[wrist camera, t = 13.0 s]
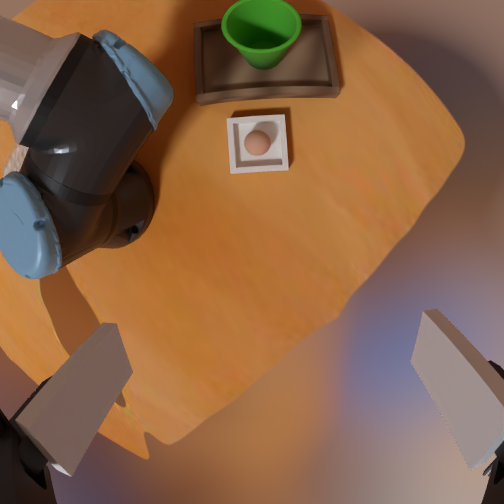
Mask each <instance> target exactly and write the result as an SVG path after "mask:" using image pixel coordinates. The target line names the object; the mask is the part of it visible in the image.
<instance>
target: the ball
mask: <svg viewBox="0 0 504 504" xmlns="http://www.w3.org/2000/svg"><path fill="white" fill-rule="evenodd" d="M244 146H245V149H246V150H247V152H248V153H250V154H251V155H254V156H260V155H263V154H265V153H266V152H267V151H268V150H269V149H270V146H271V140H270V138H269V136H268V135H267V134H266V133H265V132H263V131H260V130H254V131H251V132H250V133H248V134H247V136H246V137H245V140H244Z"/></svg>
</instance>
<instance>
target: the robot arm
mask: <svg viewBox="0 0 504 504" xmlns="http://www.w3.org/2000/svg"><path fill="white" fill-rule="evenodd" d="M92 38H93V39H90V38H88V37H86V36H85V35H83V34H81V33H79V32H77V33H73V34H70V35H67V36H64V37H61V38H56V39H54V38H51V37H49V36H47V35H45V34H43V33H41V32H38V31H36V30H34V29H32V28H29V27H27V26H24V25H22V24H20V23H17V22H15V21H12V20H10V19H7V18H4V17H2V16H0V120H2V121H5V122H8V124H9V125H10V126H11V130H12V133H13V136H14V139H15V142H16V143H17V144H20V145H23V146H26V147H29V149H28V152H27V154H26V157H25V159H24V161H23V164H22V167H21V169H20V171H19V172H17V171H14V172H10V173H9V174H8V175H6V176H5V177H4V178H2V179H0V251H1V253H2V254H3V256H4V258H5V259H6V261H7V262H8V264H9V265H10V266H11V267H12V268H13V269H14V270H15V271H16V272H17V273H18V274H20V275H21V276H23V277H25V278H28V279H39V278H42V277H44V276H47V275H50V274H54V273H56V272H57V271H58V270H59V269H60V268H62V267H63V266H65V265H67V264H69V263H71V262H72V261H74V260H76V259H78V258H80V257H82V256H83V255H85V254H87V253H89V252H91V251H93V250H94V249H96V248H111V249H113V248H120V247H124V246H126V245H128V244H130V243H132V242H134V241H135V240H137V239H138V238H139V237H140V236H141V235H142V234H143V233H144V232H145V231H146V229H147V228H148V226H149V224H150V222H151V219H152V216H153V211H154V191H153V187H152V184H151V181H150V179H149V177H148V175H147V173H146V172H145V170H144V169H143V168H142V167H141V166H140V165H139V164H138V163H137V162H136V161H134V158H135V157H136V155H137V154H138V152H139V151H140V149H141V148H142V146H143V145H144V143H145V142H146V140H147V139H148V138H149V136H150V135H151V133H152V132H153V131H155V130H156V129H157V127H158V125H157V124H158V123H159V121H160V120H161V118H162V117H163V115H164V114H165V112H166V111H167V109H168V108H169V107H170V105H171V104H172V101H173V98H174V91H173V88H172V86H171V84H170V82H169V81H168V80H167V78H166V77H165V76H164V75H163V74H162V73H161V72H160V71H159V69H158V68H157V67H156V66H155V65H153V64H152V63H151V62H150V61H149V60H148V59H147V58H146V57H145V56H144V55H142V54H141V53H140V52H139V51H138V50H137V49H135V48H134V47H133V46H131V45H130V44H127V43H126V42H125V41H124V40H122V39H121V38H120V37H119V36H117V35H116V34H114V33H112V32H110V31H108V30H101V31H99V32H98V33H96V34H94V35H93V37H92ZM411 364H412V365H413V367H414V369H415V370H416V372H417V374H418V375H419V377H420V378H421V380H422V382H423V383H424V385H425V387H426V389H427V390H428V392H429V394H430V395H431V397H432V399H433V400H434V402H435V404H436V406H437V407H438V409H439V411H440V413H441V415H442V417H443V418H444V420H445V422H446V424H447V426H448V428H449V430H450V431H451V433H452V435H453V437H454V439H455V441H456V443H457V445H458V447H459V449H460V451H461V453H462V455H463V457H464V459H465V461H466V463H467V466H468V468H469V470H473V469H474V468H476V467H478V466H480V465H482V464H484V463H485V462H486V461H487V460H488V459H489V458H490V457H491V456H492V454H493V453H494V452H495V454H496V456H497V458H496V459H495V460H494V461H493V462H492V463H491V464H490V465H489V466H488V467H487V468H486V469H485V471H484V473H483V475H486V474H487V472H488V471H489V470H490V469H491V468H492V469H491V472H490V474H489V475H488V476H490V477H489V481H488V484H487V488H486V491H485V494H484V497H483V500H482V503H481V504H504V370H503V369H502V368H501V367H500V366H499V365H497V364H496V363H494V362H492V361H487V360H486V359H485V358H484V357H483V356H482V355H481V354H480V353H479V351H478V350H477V349H476V348H475V347H474V346H473V345H472V344H471V343H470V342H469V341H468V340H467V339H466V337H465V336H464V335H463V334H462V333H461V332H460V331H459V330H458V329H457V328H456V327H455V326H454V325H453V324H452V323H451V322H450V321H449V320H448V319H447V318H446V317H445V316H444V315H443V314H442V313H441V312H440V311H439V310H438V309H433V310H426V311H423V314H422V319H421V323H420V328H419V333H418V337H417V340H416V344H415V348H414V352H413V355H412V359H411ZM132 373H133V370H132V368H131V365H130V362H129V359H128V357H127V354H126V351H125V348H124V345H123V342H122V339H121V336H120V333H119V330H118V327H117V324H116V323H102V324H101V325H100V326H99V327H98V328H97V329H96V331H94V333H92V335H91V336H90V337H89V338H88V339H87V340H86V341H85V342H84V343H83V344H82V345H81V346H80V347H79V348H78V349H77V350H76V351H75V352H74V353H73V355H72V356H71V357H70V358H69V359H68V360H67V361H66V362H65V363H64V364H63V365H62V366H61V367H60V369H59V370H58V371H57V372H56V373H55V374H54V375H53V376H51V377H49V378H48V379H46V380H45V381H43V382H42V383H41V384H40V385H39V387H38V388H37V389H36V391H34V392H33V393H32V395H31V397H30V398H28V399H27V400H26V401H25V403H24V404H23V405H22V406H21V407H20V408H19V410H18V411H17V412H16V413H15V414H14V416H13V417H12V418H11V419H10V420H9V421H8V419H7V418H6V416H5V415H4V414H3V412H2V411H1V409H0V504H57V502H56V499H55V494H54V490H53V486H52V481H51V476H50V471H49V469H48V467H47V466H46V463H47V462H48V461H49V462H50V463H51V464H52V465H53V466H54V467H55V468H56V469H57V470H59V471H61V472H63V473H65V474H67V475H69V476H72V475H73V473H74V471H75V470H76V468H77V466H78V464H79V462H80V460H81V459H82V457H83V455H84V453H85V451H86V450H87V448H88V446H89V445H90V443H91V441H92V439H93V438H94V436H95V434H96V432H97V431H98V429H99V427H100V426H101V424H102V422H103V421H104V419H105V417H106V416H107V414H108V412H109V410H110V409H111V407H112V405H113V404H114V402H115V400H116V399H117V397H118V396H119V394H120V392H121V391H122V389H123V387H124V386H125V384H126V383H127V381H128V379H129V378H130V376H131V374H132Z"/></svg>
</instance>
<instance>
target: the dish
mask: <svg viewBox="0 0 504 504" xmlns="http://www.w3.org/2000/svg"><path fill="white" fill-rule="evenodd" d="M227 129H228V144H229V157H230V171H231V174H235V173H248V172H264V171H283V170H289V168H288V152H287V139H286V126H285V114H284V115H263V116H249V117H238V118H228V119H227ZM254 130H260V131H263V132H265V133H266V134H267V135H268V136H269V138H270V140H271V146H270V149H269V150H268V151H267V152H266V153H265V154H263V155H260V156H254V155H251V154H250V153H248V152H247V150H246V149H245V146H244V140H245V137H246V136H247V134H248V133H250V132H251V131H254Z"/></svg>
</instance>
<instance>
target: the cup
mask: <svg viewBox="0 0 504 504" xmlns="http://www.w3.org/2000/svg"><path fill="white" fill-rule="evenodd" d="M301 28H302V23H301V18H300V16H299V14H298V12H297V11H296V10H295V9H294V8H293V7H292V6H291V5H290V4H288V3H287V2H285V1H283V0H240V1H238V2H236V3H234V4H233V5H232V6H231V7H230V8H229V9H228V10H227V11H226V13H225V14H224V16H223V19H222V23H221V29H222V32H223V35H224V36H225V38H226V39H227V41H228V42H230V43H231V44H232V45H233V46H234V47H236V48H237V49H238V50H239V52H240V53H241V54H242V55H243V57H244V58H245V59H246V61H247V62H248V63H249V64H250V65H251V66H252V67H254V68H256V69H259V70H268V69H271V68H274V67H275V66H277V65H278V64H279V62H280V61H281V59H282V57H283V56H284V54H285V52H286V51H287V49H288V47H289V46H290V45H291V44H292V43H293V42H295V41H296V39H297V38H298V36H299V35H300V32H301Z"/></svg>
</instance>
